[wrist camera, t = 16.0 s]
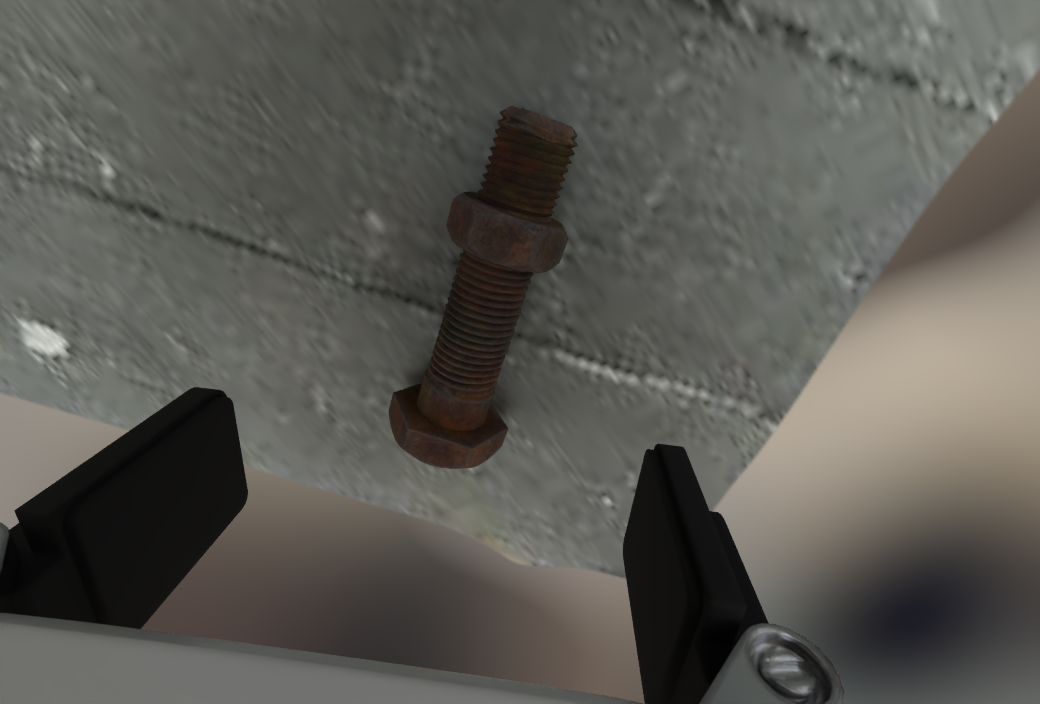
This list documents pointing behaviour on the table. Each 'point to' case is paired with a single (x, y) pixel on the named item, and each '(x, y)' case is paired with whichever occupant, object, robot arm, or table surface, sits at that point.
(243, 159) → the table surface
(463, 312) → the bolt
